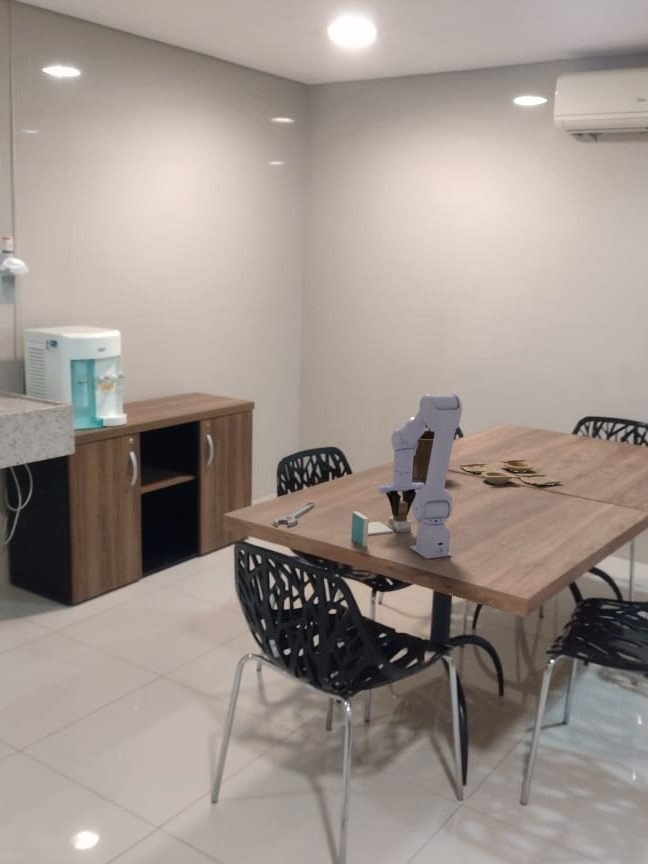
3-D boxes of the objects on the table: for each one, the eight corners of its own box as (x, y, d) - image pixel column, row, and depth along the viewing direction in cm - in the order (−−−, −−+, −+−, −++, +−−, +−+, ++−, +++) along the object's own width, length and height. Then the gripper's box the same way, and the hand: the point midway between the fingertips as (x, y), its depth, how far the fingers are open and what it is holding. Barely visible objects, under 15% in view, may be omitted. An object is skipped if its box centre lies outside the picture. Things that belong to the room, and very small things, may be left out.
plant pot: (438, 484, 304) (441, 440, 301) (395, 478, 309) (398, 435, 306) (447, 474, 319) (450, 432, 316) (406, 469, 324) (409, 428, 321)
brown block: (410, 531, 249) (412, 503, 247) (397, 532, 247) (399, 505, 245) (400, 525, 254) (402, 498, 252) (387, 526, 252) (389, 499, 251)
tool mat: (393, 532, 247) (393, 530, 247) (366, 535, 243) (366, 533, 243) (378, 523, 255) (378, 521, 255) (352, 526, 251) (352, 524, 251)
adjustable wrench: (308, 506, 272) (308, 500, 272) (325, 509, 269) (326, 504, 269) (270, 525, 250) (270, 520, 249) (289, 529, 247) (289, 523, 247)
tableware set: (566, 488, 307) (567, 477, 306) (492, 490, 300) (493, 479, 299) (522, 465, 340) (523, 455, 339) (455, 466, 333) (455, 456, 332)
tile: (367, 545, 234) (368, 518, 233) (362, 546, 234) (363, 519, 232) (356, 538, 241) (357, 511, 239) (351, 538, 240) (352, 511, 238)
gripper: (417, 465, 254) (414, 508, 256) (374, 468, 248) (372, 513, 250) (429, 471, 247) (426, 515, 250) (386, 474, 241) (383, 519, 244)
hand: (400, 514), depth 250 cm, fingers closed on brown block, 3 cm apart
